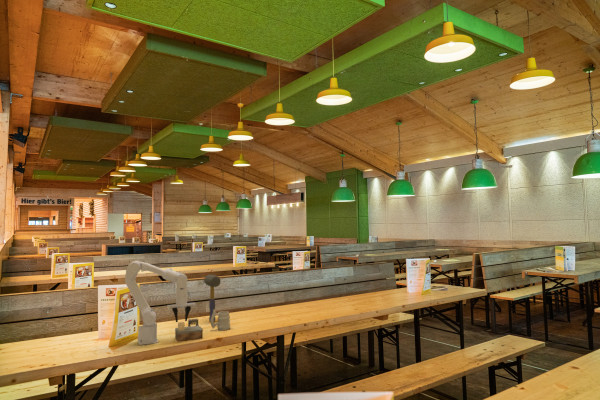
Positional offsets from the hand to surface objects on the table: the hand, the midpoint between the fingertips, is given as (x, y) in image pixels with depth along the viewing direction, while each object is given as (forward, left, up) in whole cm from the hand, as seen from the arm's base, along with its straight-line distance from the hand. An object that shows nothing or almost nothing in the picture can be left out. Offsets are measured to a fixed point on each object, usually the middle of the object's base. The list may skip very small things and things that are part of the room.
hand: (181, 321), depth 210 cm
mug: (+24, +10, -10) cm, 28 cm away
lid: (+4, 0, -5) cm, 7 cm away
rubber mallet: (+24, +32, -10) cm, 41 cm away
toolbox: (+4, +3, -9) cm, 11 cm away
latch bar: (+8, +12, -4) cm, 15 cm away
